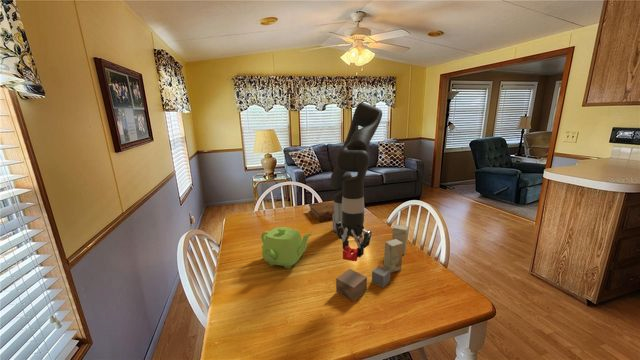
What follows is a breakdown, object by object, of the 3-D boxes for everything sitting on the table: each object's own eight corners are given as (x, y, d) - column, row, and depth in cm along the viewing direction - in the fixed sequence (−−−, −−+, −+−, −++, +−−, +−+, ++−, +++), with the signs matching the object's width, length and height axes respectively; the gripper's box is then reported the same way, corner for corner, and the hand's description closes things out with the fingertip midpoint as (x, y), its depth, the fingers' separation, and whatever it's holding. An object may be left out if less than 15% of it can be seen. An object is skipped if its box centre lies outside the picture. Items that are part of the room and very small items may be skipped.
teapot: (245, 273, 113) (242, 238, 109) (271, 248, 132) (269, 218, 128) (300, 284, 104) (298, 248, 100) (319, 256, 124) (318, 224, 120)
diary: (319, 223, 161) (318, 214, 160) (309, 212, 178) (308, 204, 176) (353, 216, 169) (353, 207, 167) (340, 206, 186) (340, 199, 184)
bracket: (356, 261, 92) (356, 253, 91) (342, 259, 93) (342, 251, 93) (360, 252, 98) (360, 244, 97) (347, 250, 99) (347, 242, 98)
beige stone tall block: (391, 251, 126) (392, 227, 123) (393, 247, 130) (394, 224, 127) (404, 254, 123) (406, 230, 120) (406, 250, 127) (408, 226, 124)
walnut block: (336, 292, 100) (336, 278, 98) (349, 282, 105) (349, 268, 104) (353, 302, 94) (353, 287, 93) (366, 291, 100) (367, 277, 98)
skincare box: (390, 273, 110) (391, 246, 106) (383, 268, 113) (384, 241, 110) (402, 269, 112) (403, 242, 109) (394, 263, 116) (396, 238, 113)
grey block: (371, 282, 105) (372, 271, 103) (378, 276, 108) (379, 265, 107) (383, 288, 101) (383, 276, 100) (389, 281, 105) (390, 270, 103)
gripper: (329, 207, 93) (330, 250, 98) (364, 217, 84) (363, 265, 88) (343, 201, 99) (343, 243, 103) (377, 210, 89) (376, 256, 93)
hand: (352, 253), depth 95 cm, fingers closed on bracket, 5 cm apart
